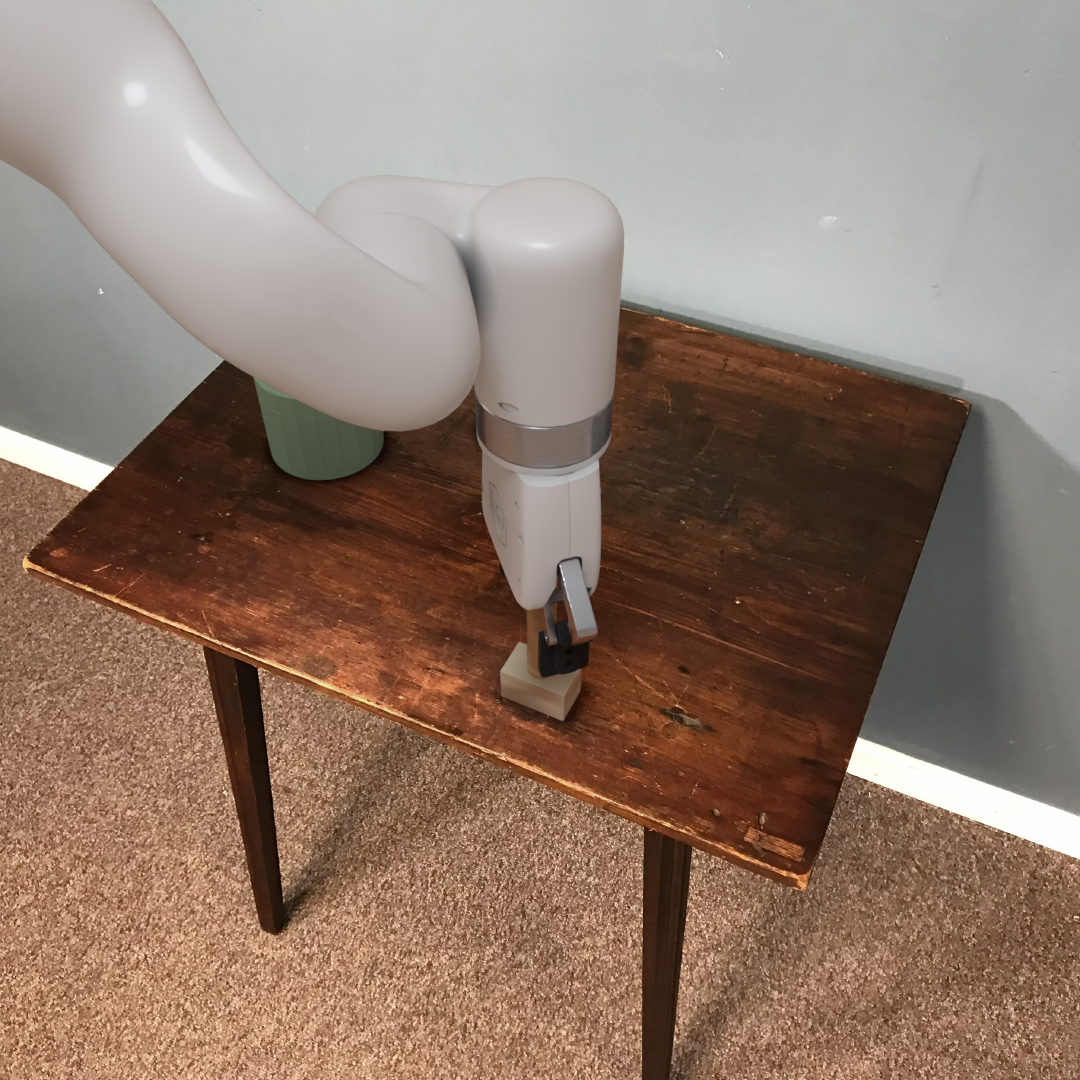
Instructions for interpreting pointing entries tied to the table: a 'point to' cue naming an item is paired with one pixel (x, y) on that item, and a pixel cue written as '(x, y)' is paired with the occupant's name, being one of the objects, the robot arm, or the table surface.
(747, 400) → the table surface
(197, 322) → the robot arm
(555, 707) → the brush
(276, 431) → the jar
